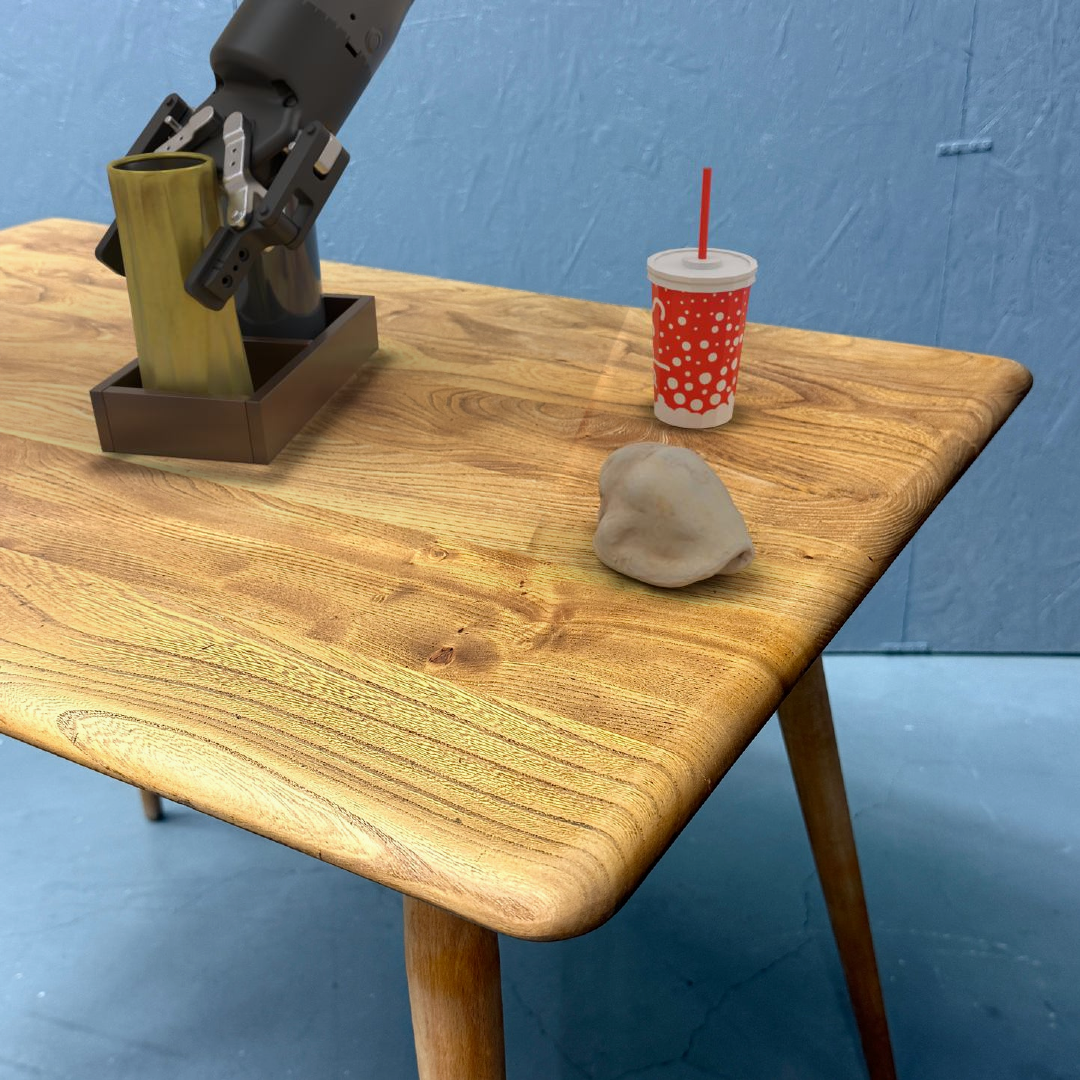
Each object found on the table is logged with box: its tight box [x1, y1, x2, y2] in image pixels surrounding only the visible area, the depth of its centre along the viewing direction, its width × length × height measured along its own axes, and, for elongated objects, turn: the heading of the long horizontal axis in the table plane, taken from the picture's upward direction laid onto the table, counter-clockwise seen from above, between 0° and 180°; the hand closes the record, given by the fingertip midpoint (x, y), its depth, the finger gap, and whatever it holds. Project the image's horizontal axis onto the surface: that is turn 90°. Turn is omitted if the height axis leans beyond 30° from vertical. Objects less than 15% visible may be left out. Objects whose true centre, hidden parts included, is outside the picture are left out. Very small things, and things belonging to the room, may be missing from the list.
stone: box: [592, 440, 756, 588], centre depth 53 cm, size 7×6×8 cm
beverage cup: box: [646, 166, 759, 429], centre depth 65 cm, size 6×6×14 cm
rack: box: [88, 292, 380, 466], centre depth 69 cm, size 10×18×4 cm, turn 169°
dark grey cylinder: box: [220, 194, 327, 340], centre depth 70 cm, size 6×6×14 cm
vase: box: [106, 152, 254, 396], centre depth 61 cm, size 6×6×14 cm
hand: (153, 284), depth 60 cm, fingers open, 8 cm apart
